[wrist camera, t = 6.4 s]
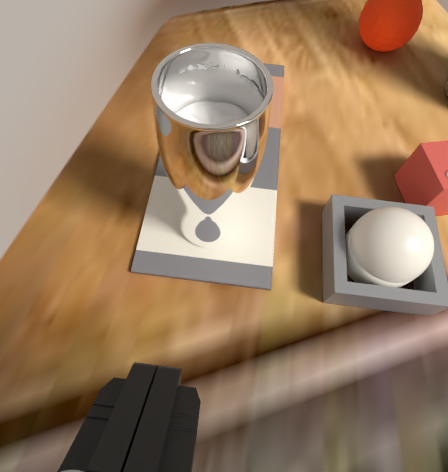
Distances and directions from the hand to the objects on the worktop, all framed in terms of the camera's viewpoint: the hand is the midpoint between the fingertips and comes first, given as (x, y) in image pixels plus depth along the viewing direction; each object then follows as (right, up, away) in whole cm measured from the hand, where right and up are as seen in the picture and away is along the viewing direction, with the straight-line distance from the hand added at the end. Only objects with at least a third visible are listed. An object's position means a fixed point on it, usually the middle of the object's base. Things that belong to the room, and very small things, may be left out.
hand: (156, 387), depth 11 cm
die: (+22, +9, +24) cm, 34 cm away
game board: (+2, +13, +25) cm, 28 cm away
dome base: (+15, +3, +20) cm, 26 cm away
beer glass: (+1, +6, +21) cm, 22 cm away
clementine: (+22, +30, +34) cm, 50 cm away
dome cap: (+16, +3, +20) cm, 26 cm away
